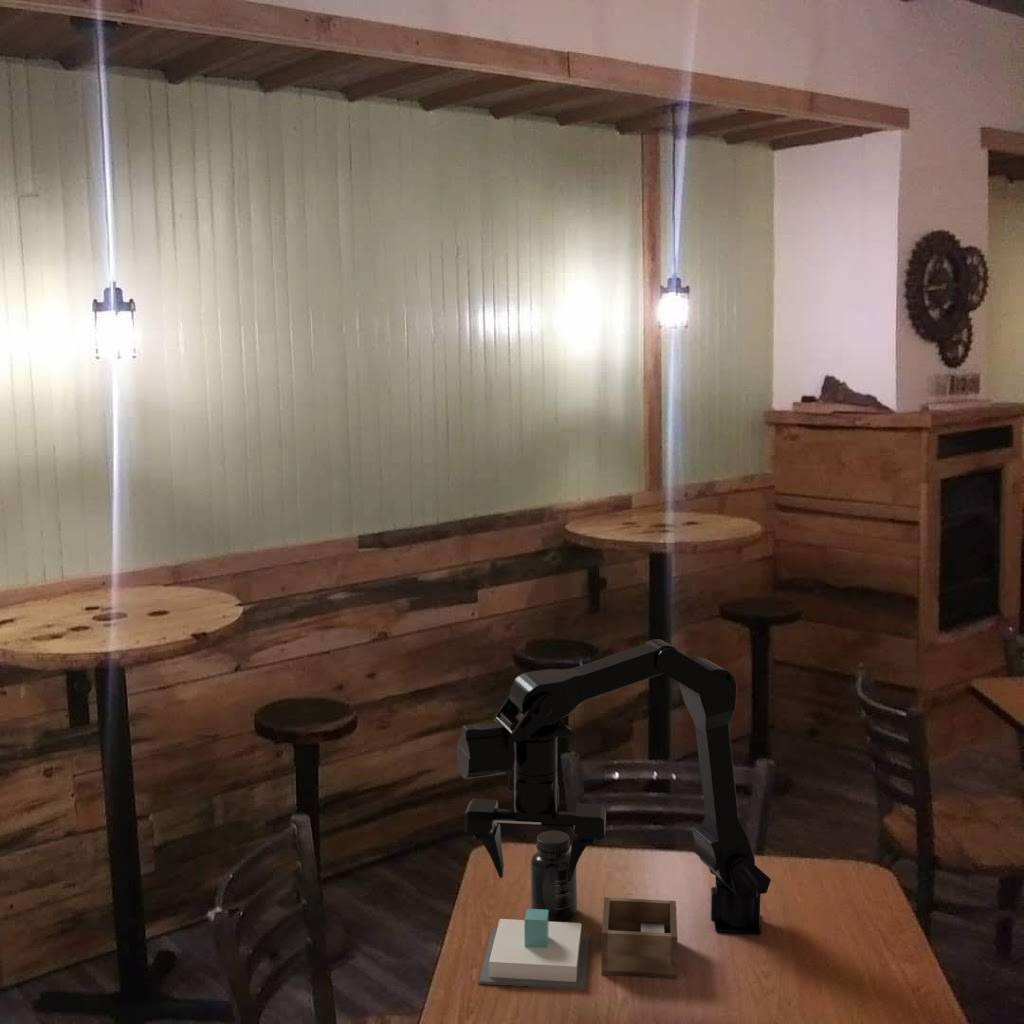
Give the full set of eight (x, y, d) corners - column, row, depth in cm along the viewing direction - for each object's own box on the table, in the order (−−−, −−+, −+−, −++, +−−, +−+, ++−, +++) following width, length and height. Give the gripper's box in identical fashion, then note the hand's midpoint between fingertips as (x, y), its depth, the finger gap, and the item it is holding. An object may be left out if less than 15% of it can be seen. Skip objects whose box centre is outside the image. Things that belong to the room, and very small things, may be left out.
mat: (589, 936, 175) (589, 933, 175) (584, 989, 161) (584, 987, 161) (492, 931, 176) (492, 928, 176) (478, 983, 162) (478, 981, 162)
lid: (581, 937, 173) (581, 896, 172) (576, 982, 162) (576, 938, 161) (499, 933, 175) (499, 892, 174) (489, 976, 163) (488, 933, 162)
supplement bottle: (578, 903, 184) (578, 828, 182) (575, 926, 177) (576, 848, 176) (532, 901, 185) (532, 826, 183) (528, 924, 178) (528, 846, 176)
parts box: (675, 940, 173) (675, 900, 172) (676, 978, 164) (677, 936, 163) (603, 936, 174) (604, 897, 173) (601, 974, 165) (601, 932, 164)
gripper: (607, 750, 171) (606, 855, 173) (474, 744, 173) (475, 849, 175) (604, 780, 160) (603, 892, 163) (463, 774, 162) (463, 885, 165)
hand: (535, 878), depth 167 cm, fingers open, 9 cm apart
